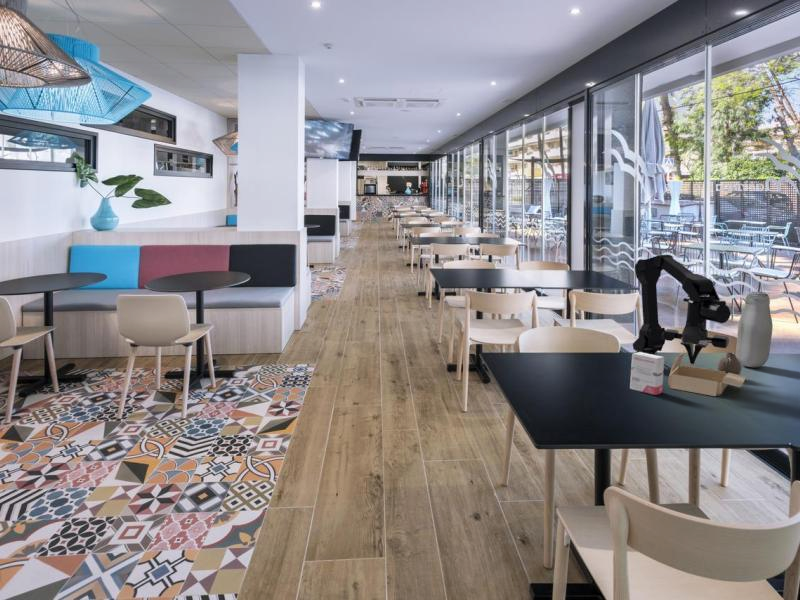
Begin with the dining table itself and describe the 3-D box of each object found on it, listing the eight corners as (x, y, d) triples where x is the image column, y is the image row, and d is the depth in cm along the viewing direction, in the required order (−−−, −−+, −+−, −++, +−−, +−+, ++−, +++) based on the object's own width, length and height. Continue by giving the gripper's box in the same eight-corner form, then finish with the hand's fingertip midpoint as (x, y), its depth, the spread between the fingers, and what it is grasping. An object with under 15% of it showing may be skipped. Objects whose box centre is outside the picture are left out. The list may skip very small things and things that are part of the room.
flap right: (722, 381, 170) (740, 385, 167) (728, 372, 179) (746, 376, 176) (722, 382, 170) (740, 387, 167) (728, 373, 179) (745, 378, 176)
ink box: (663, 392, 173) (666, 356, 171) (655, 395, 170) (658, 358, 168) (636, 385, 180) (639, 350, 178) (629, 388, 177) (631, 353, 175)
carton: (666, 387, 178) (667, 374, 177) (678, 375, 191) (679, 363, 190) (719, 397, 168) (720, 383, 168) (728, 384, 182) (729, 371, 181)
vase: (743, 381, 184) (746, 356, 183) (721, 380, 186) (723, 355, 184) (735, 375, 191) (738, 351, 189) (713, 374, 192) (716, 350, 191)
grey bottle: (748, 362, 208) (755, 289, 204) (773, 369, 199) (782, 293, 194) (728, 364, 205) (735, 290, 201) (753, 371, 196) (761, 294, 191)
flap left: (679, 364, 188) (685, 351, 186) (671, 372, 178) (677, 358, 177) (678, 364, 188) (683, 351, 186) (669, 372, 179) (675, 358, 177)
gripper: (659, 317, 177) (655, 364, 179) (725, 325, 165) (720, 374, 168) (667, 312, 185) (663, 357, 188) (731, 319, 174) (726, 366, 176)
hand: (692, 363), depth 180 cm, fingers closed
